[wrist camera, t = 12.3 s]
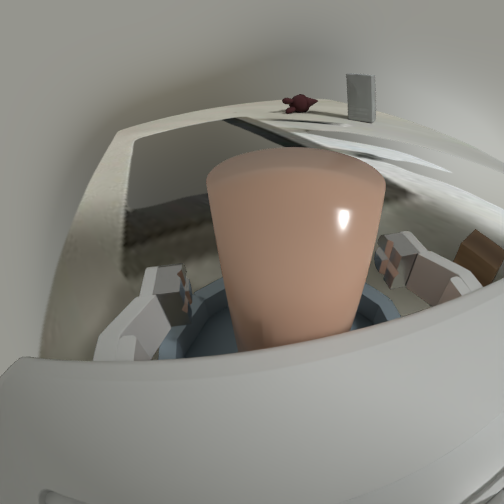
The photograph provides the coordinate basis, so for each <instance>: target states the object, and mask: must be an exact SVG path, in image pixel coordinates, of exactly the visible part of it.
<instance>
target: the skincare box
mask: <svg viewBox="0 0 504 504" xmlns="http://www.w3.org/2000/svg"><path fill="white" fill-rule="evenodd" d="M346 78H347V96H348V119H350V120H357V121H364V122H370V123H372V122H374V121H375V120H376V92H375V91H376V88H375V75H365V74H346Z"/></svg>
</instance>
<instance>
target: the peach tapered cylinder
mask: <svg viewBox="0 0 504 504" xmlns="http://www.w3.org/2000/svg"><path fill="white" fill-rule="evenodd" d="M206 184H207V189H208V196H209V202H210V208H211V214H212V220H213V226H214V232H215V237H216V243H217V248H218V254H219V259H220V265H221V270H222V275H223V281H224V286H225V291H226V296H227V301H228V306H229V311H230V316H231V321H232V325H233V330H234V335H235V340H236V344H237V349H238V352H245V351H252V350H259V349H265V348H271V347H277V346H283V345H288V344H294V343H299V342H304V341H309V340H314V339H319V338H323V337H328V336H332V335H336V334H341V333H345V332H349V331H350V330H351V327H352V324H353V321H354V318H355V315H356V312H357V308H358V305H359V302H360V299H361V295H362V292H363V288H364V285H365V281H366V277H367V274H368V270H369V266H370V262H371V258H372V254H373V250H374V245H375V241H376V236H377V232H378V227H379V222H380V217H381V212H382V207H383V201H384V195H385V189H386V183H385V180H384V178H383V177H382V175H381V174H380V173H379V172H378V171H377V170H376V169H375V168H373V167H372V166H370V165H369V164H367V163H365V162H363V161H361V160H359V159H357V158H354V157H351V156H348V155H345V154H342V153H338V152H333V151H328V150H322V149H315V148H301V147H284V148H271V149H263V150H257V151H252V152H248V153H244V154H241V155H238V156H235V157H232V158H230V159H228V160H226V161H224V162H222V163H220V164H219V165H217V166H216V167H215V168H213V169H212V170H211V172H210V173H209V175H208V176H207V180H206Z"/></svg>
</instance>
